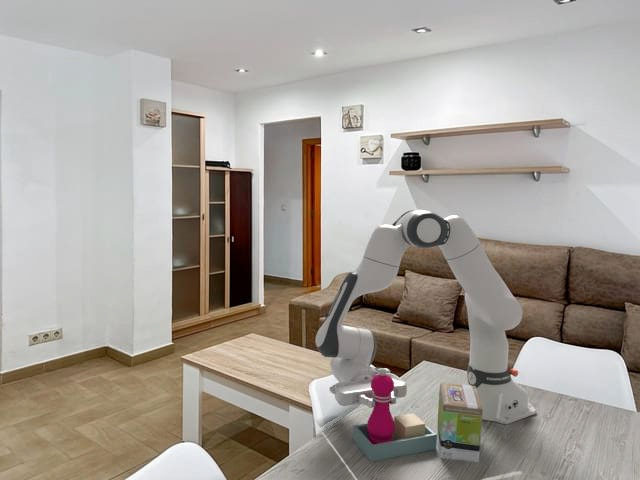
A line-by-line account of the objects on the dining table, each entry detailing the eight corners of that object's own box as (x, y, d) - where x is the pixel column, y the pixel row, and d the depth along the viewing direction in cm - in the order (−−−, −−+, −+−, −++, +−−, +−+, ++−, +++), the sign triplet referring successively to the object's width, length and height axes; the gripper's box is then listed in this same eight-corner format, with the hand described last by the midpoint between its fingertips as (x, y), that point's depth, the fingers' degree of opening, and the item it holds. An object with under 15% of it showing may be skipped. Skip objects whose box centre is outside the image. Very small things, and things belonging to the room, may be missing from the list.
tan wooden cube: (412, 434, 131) (413, 413, 130) (424, 445, 125) (425, 423, 125) (393, 437, 129) (394, 416, 128) (404, 448, 123) (405, 427, 123)
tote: (414, 430, 134) (414, 415, 134) (436, 450, 124) (437, 434, 123) (352, 441, 128) (353, 425, 127) (370, 464, 117) (371, 446, 117)
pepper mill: (365, 434, 128) (368, 363, 126) (392, 435, 128) (395, 364, 126) (367, 449, 121) (369, 374, 119) (395, 450, 121) (398, 375, 118)
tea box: (480, 465, 118) (483, 408, 116) (438, 460, 120) (441, 404, 118) (473, 435, 132) (476, 384, 131) (436, 430, 134) (438, 380, 133)
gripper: (327, 375, 131) (346, 396, 118) (392, 367, 138) (417, 386, 125) (326, 397, 132) (346, 420, 119) (391, 388, 139) (416, 409, 126)
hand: (383, 403), depth 122 cm, fingers closed on pepper mill, 5 cm apart
